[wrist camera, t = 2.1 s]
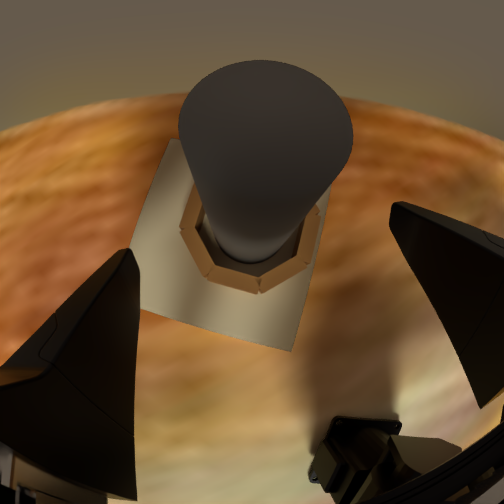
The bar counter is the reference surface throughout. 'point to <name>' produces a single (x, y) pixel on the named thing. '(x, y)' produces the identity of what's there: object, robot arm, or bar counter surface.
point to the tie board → (218, 264)
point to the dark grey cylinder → (262, 151)
